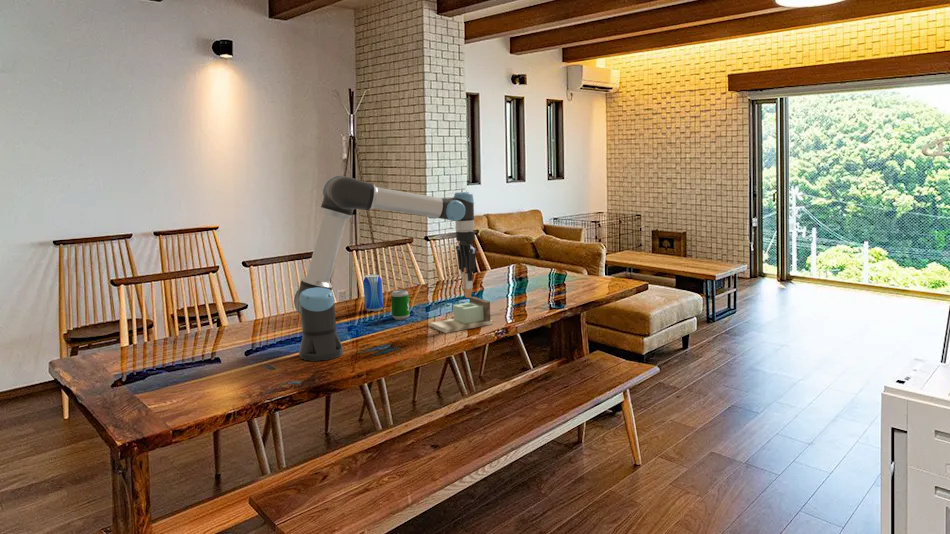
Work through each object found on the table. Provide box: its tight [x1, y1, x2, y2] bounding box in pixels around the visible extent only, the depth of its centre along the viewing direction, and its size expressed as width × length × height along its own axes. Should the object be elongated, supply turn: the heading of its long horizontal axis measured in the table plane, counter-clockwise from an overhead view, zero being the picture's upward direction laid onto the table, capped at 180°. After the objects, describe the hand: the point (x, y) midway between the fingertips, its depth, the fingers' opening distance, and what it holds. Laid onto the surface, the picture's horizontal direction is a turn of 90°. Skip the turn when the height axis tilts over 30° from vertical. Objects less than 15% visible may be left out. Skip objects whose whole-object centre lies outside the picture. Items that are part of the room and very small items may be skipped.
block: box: [452, 301, 484, 324], centre depth 262 cm, size 9×9×6 cm
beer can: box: [362, 274, 384, 312], centre depth 293 cm, size 8×8×16 cm
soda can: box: [390, 289, 411, 321], centre depth 276 cm, size 8×8×12 cm
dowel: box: [464, 268, 472, 299], centre depth 260 cm, size 3×3×12 cm
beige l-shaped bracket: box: [429, 296, 494, 334], centre depth 260 cm, size 22×13×10 cm, turn 120°
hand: (467, 287), depth 260 cm, fingers closed on dowel, 2 cm apart
